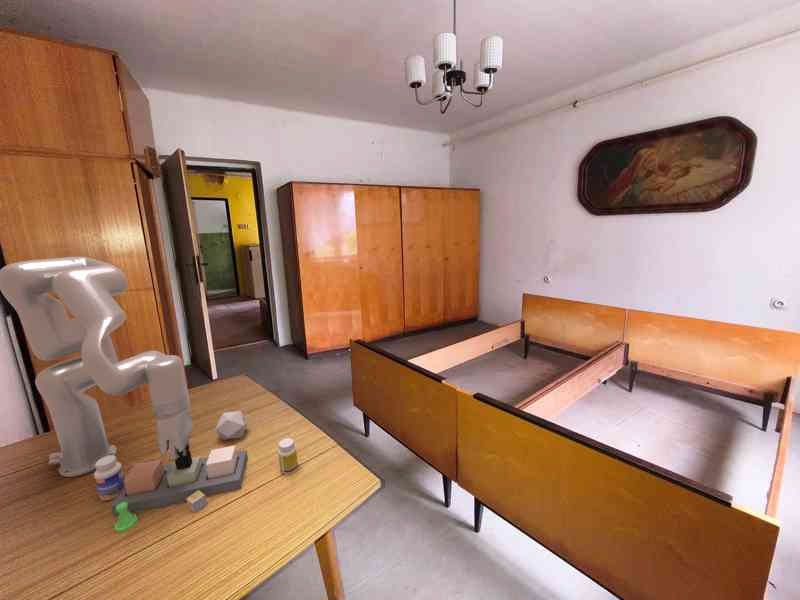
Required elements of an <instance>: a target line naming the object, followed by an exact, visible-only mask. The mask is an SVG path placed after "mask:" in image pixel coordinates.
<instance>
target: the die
mask: <svg viewBox="0 0 800 600" xmlns="http://www.w3.org/2000/svg"><path fill="white" fill-rule="evenodd" d="M248 424H249V420H248V419H247V418H246V416H245V415H244V414H243V412H242V411H241V410H237V411H229V412H223V413H222V414H221V416H220V419H219V420H218V423H217V425H216V426H215V428H214V429H215V431H216V433H218V435H219V436H220V438H221V439H222V440H224V441H227V440H237V439H241V438H242V437H243V435H244V432H245V430H246V427H247V426H248Z"/></svg>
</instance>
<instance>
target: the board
mask: <svg viewBox="0 0 800 600" xmlns="http://www.w3.org/2000/svg"><path fill="white" fill-rule="evenodd" d="M236 453H237V460H238V461H237V465H236V469H235V473H234V474H232V475H227V476H222V477H217V478H213V479H208V474H207V469H206V463H207V460H208V458H209V456H206V457H200V458H201V463H202V470H201V473H200V475H199V478H198V480H197V482H193V483H189V484H184V485H179V486H174V487H169V485H168V480H167V476H168V474H169V472H170V471H171V469H172V467H173V465H174V463H170V464H165V465H164V464H163V468H164V473H165V476H164V477H163V479H162V481H161V483H160V485H159V487H158V489H157V490H155V491H150V492H145V493H141V494H136V495H131V496H127V493H126V489H125V486H124V488H123V489H122V491H121V492H120V494H119V495H118V496H117V497H115V500H114V501H113V503H112V505H111V506H110V508H111V511H112V515H113V518H116V517H119V514H120V513H119V512H117V511H116V507H117V505H118V504H120V503H122V502H126V503H128V507H127V509H126V510H128V511H129V512H130V513H131V514H134V513H139V512H144V511H148V510H152V509H156V508H157V509H158V508H160V507H162V508H163V507H164V506H165V507H166V506H170V505H174V504H179V503H184V502H187V498H188V497H189V496H191V495H192V494H194V493H195V492H196V491H198V490H199V491H201V492H202V493H203V494H204V495H205V496H206V498H207V497H211V496H215V495H220V494H224V493H229V492H234V491H237V490H241V489H242V486H243V481H244V478H245V477H244V476H245V472H246V469H247V465H248V464H247V463H248V458H249V457H248V451H247V449H244V450H238V451H237V450H236Z"/></svg>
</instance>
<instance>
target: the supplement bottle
mask: <svg viewBox="0 0 800 600" xmlns="http://www.w3.org/2000/svg"><path fill="white" fill-rule="evenodd" d="M297 454H298V453H297V446H296V445H295V441H294V439H293V438H290V437H286V438H283V439H282V440H280V441H279V443H278V461H279V469H280V473H282V474H285V475H289V474H292V473H294V472H295V471H296V470H297V469H298V467H299V463H298V455H297Z"/></svg>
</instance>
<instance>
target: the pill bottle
mask: <svg viewBox="0 0 800 600" xmlns="http://www.w3.org/2000/svg"><path fill="white" fill-rule="evenodd" d="M95 466H96V470H94V473H93V477H94V481H95V485H96V489H97V493H98V497H99V499H100V500H101V501H108V500H112V499H116V498H117V497H118V495H119V494H120V492H121V491H122V489H123V488H124V486H125V485H124V480H125V478H126V477H125V474H124V470H123V466H122V463H121V462H119V461H118V459H117V455H116V456H114V455H111V456H106V457H104V458H102V459H100V460H98V461H97V462H96V464H95Z"/></svg>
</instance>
